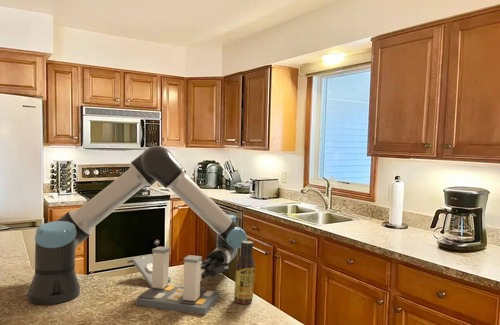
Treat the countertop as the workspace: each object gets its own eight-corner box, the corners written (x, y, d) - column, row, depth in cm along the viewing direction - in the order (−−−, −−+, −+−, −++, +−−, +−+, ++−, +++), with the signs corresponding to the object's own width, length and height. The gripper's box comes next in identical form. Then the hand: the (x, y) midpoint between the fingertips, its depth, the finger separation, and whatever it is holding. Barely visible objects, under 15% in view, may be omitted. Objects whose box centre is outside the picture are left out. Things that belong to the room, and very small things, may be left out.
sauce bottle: (238, 306, 119) (241, 244, 119) (230, 299, 125) (233, 240, 124) (256, 303, 122) (259, 243, 122) (248, 296, 128) (250, 239, 127)
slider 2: (182, 299, 116) (183, 258, 116) (187, 294, 121) (189, 254, 120) (195, 301, 115) (196, 260, 115) (200, 296, 120) (201, 256, 119)
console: (136, 304, 117) (136, 297, 117) (157, 289, 131) (157, 282, 131) (205, 314, 112) (205, 306, 112) (219, 297, 126) (219, 290, 126)
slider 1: (150, 287, 126) (152, 249, 125) (157, 283, 130) (158, 246, 130) (162, 289, 125) (164, 250, 124) (168, 284, 129) (170, 247, 129)
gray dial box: (153, 283, 132) (132, 256, 140) (147, 295, 134) (128, 268, 142) (171, 277, 139) (151, 252, 147) (166, 289, 141) (146, 263, 149)
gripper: (234, 271, 142) (214, 293, 119) (201, 267, 145) (176, 288, 122) (234, 251, 142) (215, 269, 119) (202, 248, 144) (177, 265, 121)
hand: (195, 279), depth 120 cm, fingers closed
